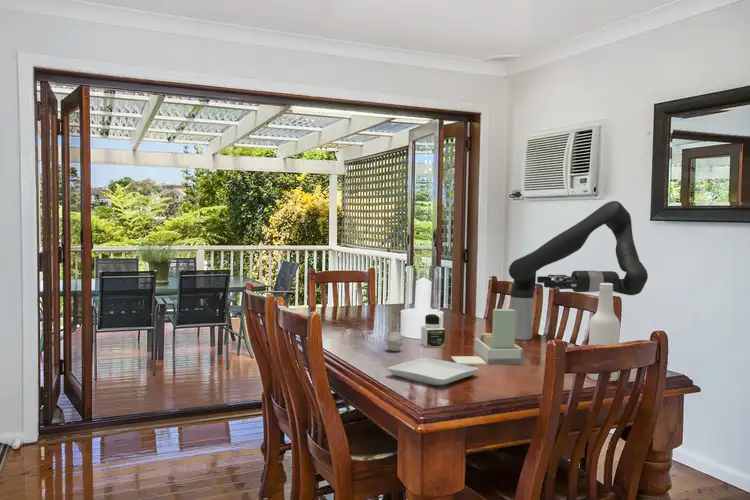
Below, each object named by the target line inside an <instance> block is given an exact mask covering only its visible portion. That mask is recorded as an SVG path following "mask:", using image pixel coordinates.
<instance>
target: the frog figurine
mask: <svg viewBox="0 0 750 500" xmlns="http://www.w3.org/2000/svg"><path fill="white" fill-rule="evenodd" d="M403 343H404V340H403V337H402V335H401V333H400V332H398V331H391V332H390V333H389V334H388V337H387V339H386V345H387V348H388V350H389V351H391V352H397V351H399V350H400V349H401V347H402V345H403Z"/></svg>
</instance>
